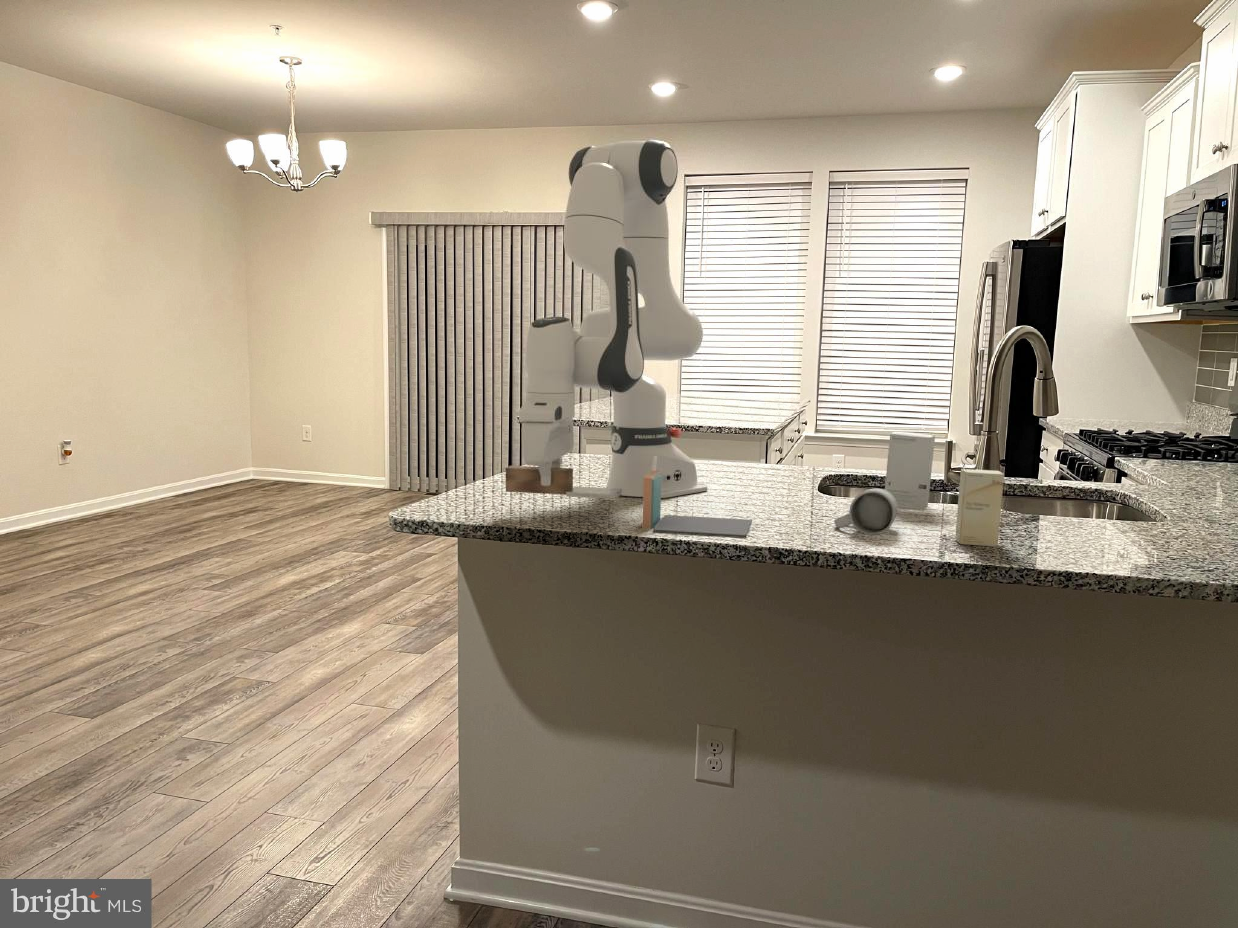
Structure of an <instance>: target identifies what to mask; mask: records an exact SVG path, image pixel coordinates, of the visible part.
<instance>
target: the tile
mask: <svg viewBox="0 0 1238 928" xmlns="http://www.w3.org/2000/svg"><path fill="white" fill-rule="evenodd" d="M661 501H662V498H661V473H660V471H651V472H650V473H649V474H647V475H646V476H645V477H644V478H643V497H642V529H650V530H652V528H654V527H655V526H656V525H657V524H658V523H659V522H660V520H661V513H662V512H661V511H662V510H661V508H662V507H661V506H662V505H661Z"/></svg>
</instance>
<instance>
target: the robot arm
mask: <svg viewBox="0 0 1238 928" xmlns="http://www.w3.org/2000/svg"><path fill="white" fill-rule="evenodd" d="M678 166H679V165H678V159H677V156H676V153H675V151H674V150H673V148H672V147H671V145H670V144H668V143H667V142H666V141H665V142H664V141H662V140H656V139H648V140H647V141H646V140H621V141H617V142H611V143H606V144H602V145H601V144H600V145H597V146H595V145H590V146H587V147H584V148H581V149H579V150H577V151H576V153H575V154H574V155H573V157H572V158H571V160H570V163H569V166H568V167H569V168H568V181H569V184H570V190H569V195H568V198H567V205H566V210H565V216H564V217H565V219H564V224H563V237H562V239H563V240H562V241H563V247H564V251H565V253H566V255H567V257H568V258H569V259H570V261H571V262H573V264H575V265H576V266H577V267H578V268H580V269H582V270H584V271H585V272H588V273H590V274H592V275H593V276H594V275H595V276H596V277H599V278H600V279H601V280H602V281H603V282H604V283H605V284H606V287H607V289H608V296H609V297H608V299H609V307H605V308H599V309H596V310H590V311H588V313H587V314H586V315H585V316H584V318H583V319H582V321H581V323H580V328H579V331H577V330H576V329H575V328H574V327H573V324H572V320H571V319H570V318H569V317H564V316H551V317H541V318H537V319H535V320H534V321H532V322H531V323H530V324H529V327H528V331H527V336H526V344H525V370H526V373H527V383H526V386H525V398H524V403H523V404H522V406H521V407H520V408H519V412H518V419H519V422H522V425H521V447H522V450H521V451H522V458H523V460H524V463H525V465H527V466H533V467H538V468H539V472H540V475H541V485H543V486H549V485H551V484H552V483H553V480H552V479H553V475H551V468H562V467H561V466H562V462H563V461H562V460H563V457H564V456H565V455H568V454H570V453H572V452H573V450H574V446H575V435H574V434H575V433H574V420H573V419H574V418H575V417H576V415H575V413H576V412H575V407H576V406H575V405H576V403H575V402H576V401H575V398H576V396H575V388H582V389H594V390H595V389H597V390H603V391H609V392H611V394H612V403H613V404H612V405H613V406H612V407H613V409H612V410H613V425H612V426H611V431H610V433H611V436H610V440H611V441H610V443H611V444H610V445H611V451H612V453H611V461H610V470H609V474H608V478H607V482H606V485H605V488H613V489H623V492H622V494H621V495H620V496H623V497H625V496H626V497H639V498H641V497H642V498H643V478H644V477H645V476H646V475H647V474H649V473H650V472H651V471H660V473H661V499H666V498H672V497H677V496H683V495H688V494H695V493H700V492H701V493H702V492H707V491H708V485H706V483H703V482H701V481H700V482H699V481H698V475H697V473H698V471H697V467H696V464H695V462H694V461H693V459H691V458H690V457H689V456H688V455H687V454H685V453H684V452H683V451H682V450H681V449H680V448H678V447H677V446H676V445H675V444H673V443H672V442H673V440H672V438H676V439H679V438H681V436H682V430H681V429H680V428H675V427H672V428H669V427H668V426H666V413H667V411H666V410H667V405H666V403H667V402H666V401H667V395H666V390H665V389H664V387H663V386H662V384H660V382H658V381H657V380H655V379H653V378H651V377H649V376H647V375H645V374H644V368H645V361H668V362H671V361H678V360H683V359H688V358H693V357H694V355H696V353H697V352H698V351H699V349H700V347H701V345H702V342H703V337H704V332H703V331H704V330H703V325H702V323H701V322H702V321H700V318H699V317H698V316H697V314H695V312H694V311H692V309H690V308H688V306H686V305H685V304H684V303H683V301H682V300H681V299H680V298H679V295H678V293H677V292H676V290H675V288H674V285H673V283H672V279H671V274H670V254H669V250H670V247H669V246H670V245H669V242H670V238H669V236H670V234H669V233H670V232H669V231H670V229H669V215H668V213H669V212H668V208H667V207H668V206H667V201H666V199H667V197H668V196H669V194H671V192H672V190H673V189H674V187H675V184H676V183H677V179H678V173H679V171H678V168H679V167H678ZM639 295H641V297H642V300H643V302H644V306H641V307H640V305H639Z"/></svg>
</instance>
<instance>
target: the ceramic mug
mask: <svg viewBox="0 0 1238 928" xmlns="http://www.w3.org/2000/svg"><path fill="white" fill-rule="evenodd" d="M898 513H899V508H898V505H897V502H896V500H895V498H894V497H893V495H892V494H891V493H889V492H888V491H886V490H885V488H884V489H883V488H877V487H875V488H874V487H873V488H870V489H867V490H865V491H862V492H860V493H859V494H858V495H856V496H855V497H854V499H853V500H852V501H851V503H850V506H849V511H848V513H847V514H844V515H841V516H838V517H837V518H835V519H834V520H833V522H834V524H835V527H836V528H837V529H840V528H845V527H847V526H849V525H852V526H853V527H854V529H856V530H857V531H858V532H860V533H861V534H864V535H868V536H877V535H882V534H883V533H885V532H886V531H888V530H889V529H890V528H891V527H892V525H893V524H894V521H895V520H896V518H897V516H898Z"/></svg>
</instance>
